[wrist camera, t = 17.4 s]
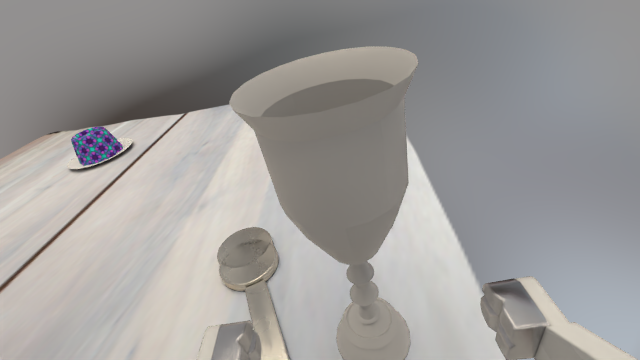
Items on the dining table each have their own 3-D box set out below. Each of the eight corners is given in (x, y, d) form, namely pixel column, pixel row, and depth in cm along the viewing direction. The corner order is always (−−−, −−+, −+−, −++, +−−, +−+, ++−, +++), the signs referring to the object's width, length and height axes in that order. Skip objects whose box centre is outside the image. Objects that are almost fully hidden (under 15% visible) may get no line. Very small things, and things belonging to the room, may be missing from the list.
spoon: (356, 455, 16) (353, 449, 16) (259, 515, 15) (253, 511, 14) (266, 226, 33) (264, 219, 33) (217, 246, 32) (214, 240, 31)
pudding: (73, 157, 64) (56, 135, 61) (132, 136, 68) (119, 114, 65) (66, 180, 55) (45, 155, 52) (135, 153, 59) (120, 128, 56)
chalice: (420, 410, 17) (406, 109, 7) (309, 378, 20) (186, 122, 10) (426, 297, 23) (424, 37, 13) (339, 283, 25) (280, 58, 15)
